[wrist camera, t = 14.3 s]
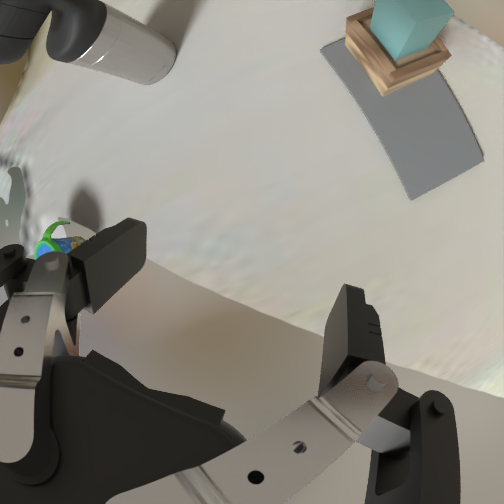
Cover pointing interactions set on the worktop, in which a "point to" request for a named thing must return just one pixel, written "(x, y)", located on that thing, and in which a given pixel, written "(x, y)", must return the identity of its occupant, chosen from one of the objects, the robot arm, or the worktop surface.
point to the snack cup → (56, 242)
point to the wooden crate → (389, 56)
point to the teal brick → (408, 24)
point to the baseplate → (412, 124)
